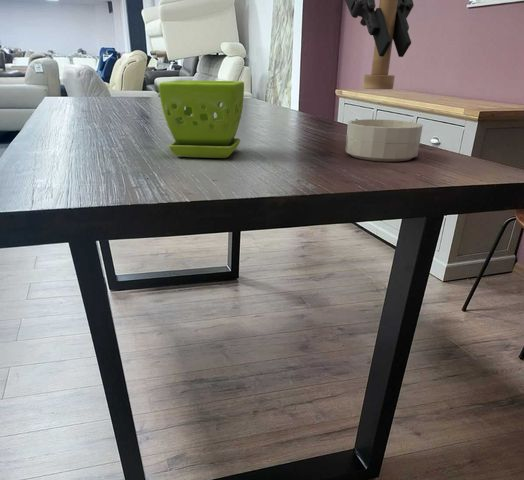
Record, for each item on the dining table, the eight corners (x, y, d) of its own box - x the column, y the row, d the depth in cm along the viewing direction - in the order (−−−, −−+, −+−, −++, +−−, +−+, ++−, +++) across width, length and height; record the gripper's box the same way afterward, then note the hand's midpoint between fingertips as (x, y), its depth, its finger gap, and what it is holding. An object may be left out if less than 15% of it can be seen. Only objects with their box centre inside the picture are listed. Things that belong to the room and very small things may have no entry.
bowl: (393, 149, 106) (397, 118, 103) (431, 161, 95) (438, 127, 92) (333, 151, 102) (336, 119, 99) (366, 163, 91) (370, 128, 88)
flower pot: (245, 150, 101) (246, 80, 95) (237, 162, 89) (236, 83, 83) (179, 147, 102) (174, 78, 96) (161, 159, 90) (155, 81, 84)
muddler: (383, 87, 86) (397, -27, 78) (398, 89, 82) (415, -31, 74) (357, 87, 84) (369, -29, 76) (372, 89, 80) (386, -34, 72)
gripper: (389, -40, 88) (425, 69, 83) (307, -47, 83) (340, 68, 78) (410, -86, 81) (452, 30, 76) (322, -96, 76) (360, 26, 71)
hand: (395, 49), depth 77 cm, fingers closed on muddler, 3 cm apart
